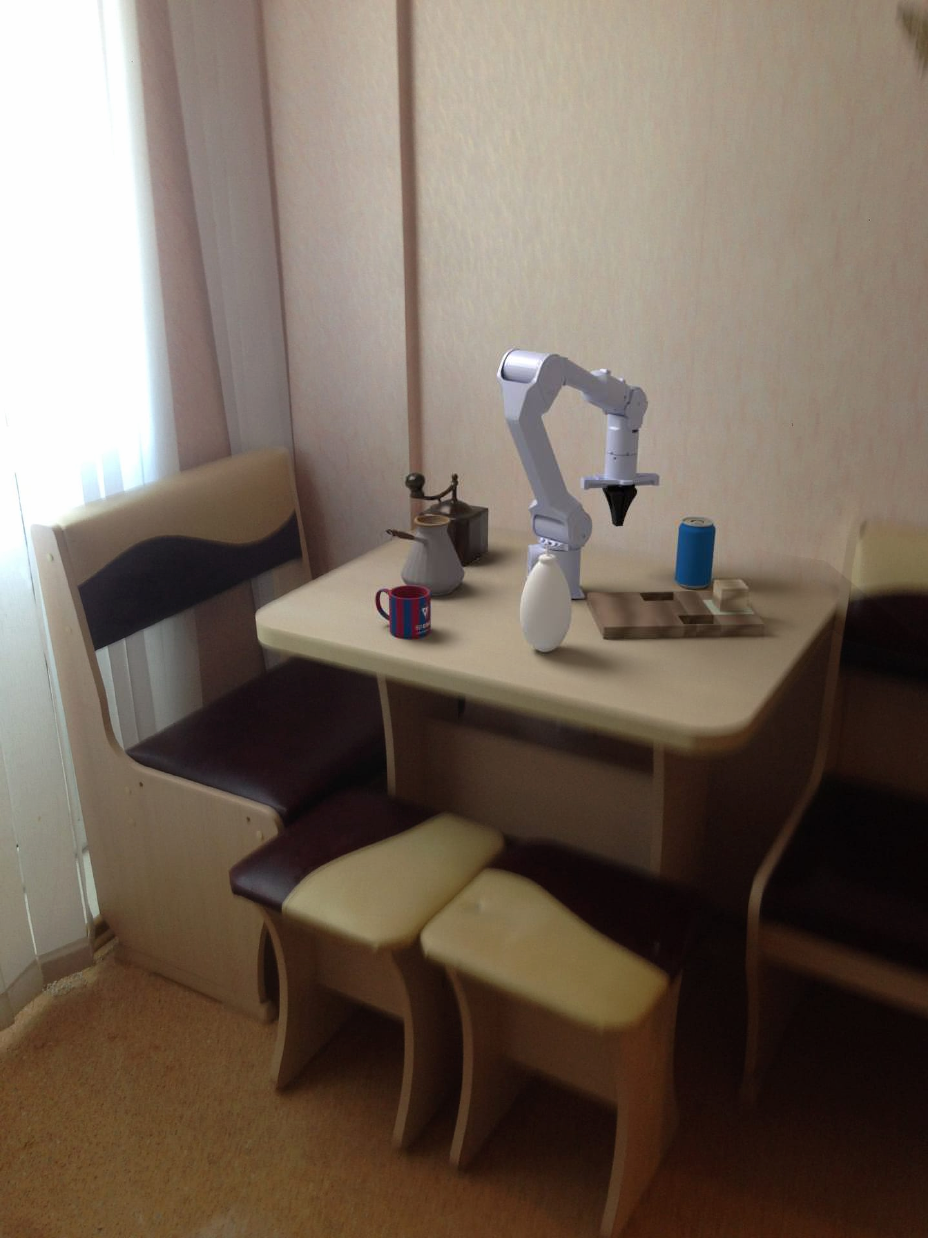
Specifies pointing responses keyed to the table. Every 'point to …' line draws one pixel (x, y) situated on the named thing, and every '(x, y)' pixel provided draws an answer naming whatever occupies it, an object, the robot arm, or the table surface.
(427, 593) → the mug
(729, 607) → the block
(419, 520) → the coffee pot
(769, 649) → the table surface
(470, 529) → the coffee grinder
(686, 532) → the beverage can
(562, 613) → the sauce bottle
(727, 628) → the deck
